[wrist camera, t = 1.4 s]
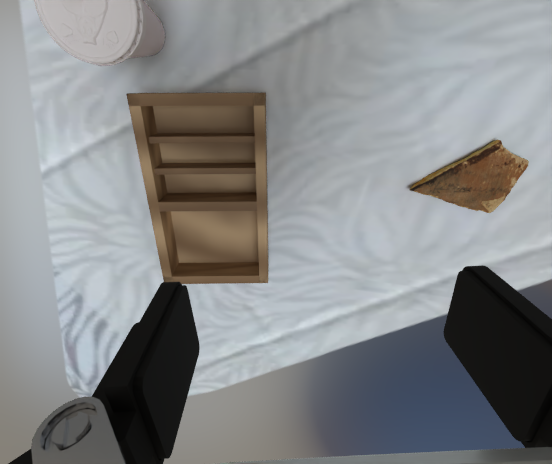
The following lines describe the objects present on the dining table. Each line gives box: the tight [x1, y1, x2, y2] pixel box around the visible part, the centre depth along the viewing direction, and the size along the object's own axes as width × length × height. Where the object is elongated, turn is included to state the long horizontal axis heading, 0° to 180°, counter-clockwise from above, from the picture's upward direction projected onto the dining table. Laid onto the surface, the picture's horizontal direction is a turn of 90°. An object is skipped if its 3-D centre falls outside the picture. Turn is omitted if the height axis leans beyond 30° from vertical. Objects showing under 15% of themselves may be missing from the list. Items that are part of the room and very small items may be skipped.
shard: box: [410, 140, 529, 213], centre depth 33 cm, size 11×8×2 cm
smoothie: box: [34, 0, 165, 66], centre depth 21 cm, size 6×6×14 cm
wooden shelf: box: [127, 93, 268, 284], centre depth 32 cm, size 20×12×4 cm, turn 0°
